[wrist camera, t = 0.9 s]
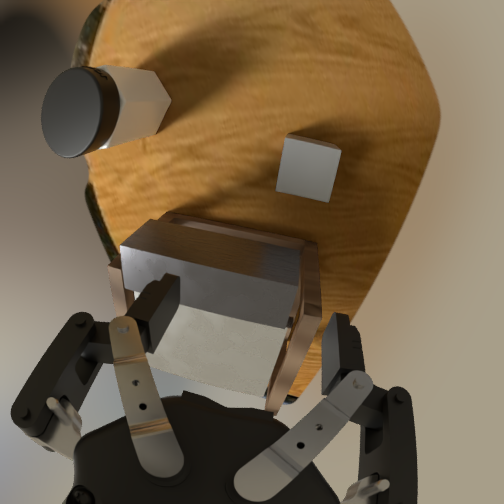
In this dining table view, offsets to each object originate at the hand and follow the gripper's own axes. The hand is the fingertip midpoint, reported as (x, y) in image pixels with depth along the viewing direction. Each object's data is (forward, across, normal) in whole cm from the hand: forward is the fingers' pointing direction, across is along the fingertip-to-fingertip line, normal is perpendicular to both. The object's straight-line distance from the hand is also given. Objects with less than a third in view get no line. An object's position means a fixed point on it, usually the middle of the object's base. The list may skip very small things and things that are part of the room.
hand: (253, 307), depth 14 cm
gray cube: (+19, -2, -4) cm, 19 cm away
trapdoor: (+9, +4, +10) cm, 14 cm away
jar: (+19, +18, -8) cm, 27 cm away
